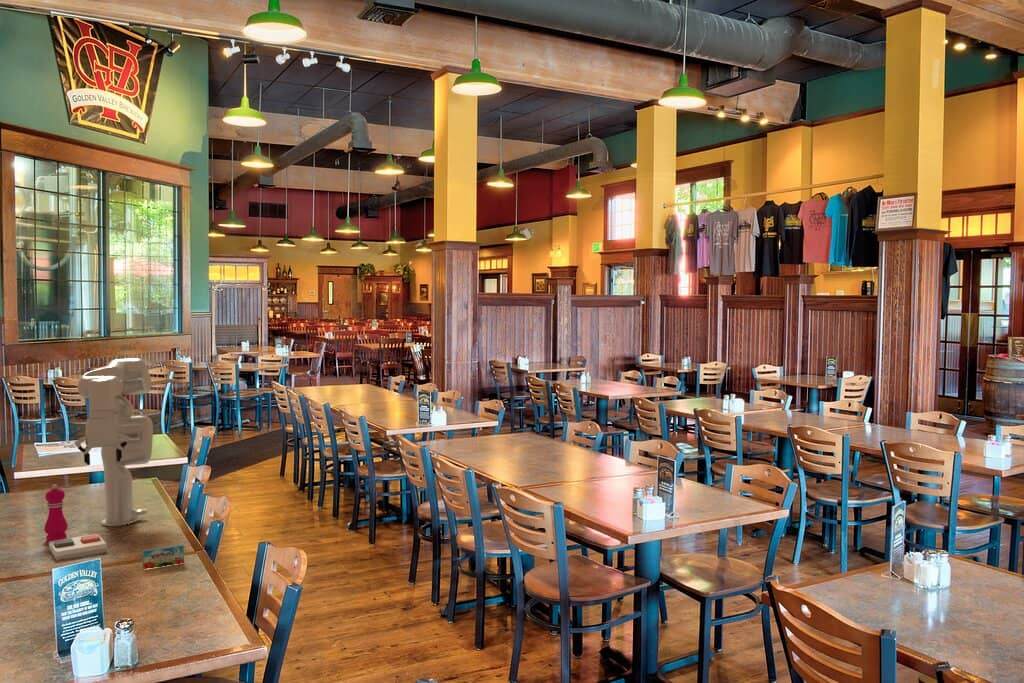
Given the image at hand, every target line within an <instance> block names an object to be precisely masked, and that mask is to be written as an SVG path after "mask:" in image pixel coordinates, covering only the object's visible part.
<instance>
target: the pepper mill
mask: <svg viewBox="0 0 1024 683" xmlns="http://www.w3.org/2000/svg"><path fill="white" fill-rule="evenodd" d="M51 488H52V489H49V490H47V492H46V493H45V497H44V498H45V501H47V508H48V516H47V519H46V521H45V523H44V524H45V525H44V533H46V534H47V535H46V537H45V538H46V542H47V541H48V542H47V543H49V541H55V540H62V539H67V533H66V531H68V529H69V528H68V527H69V525H68V522H67V520H66V518H65V516H64V513H63V506H64V501H63V500H64V499H65V496H66V494H65V491H64V490H63V489H61V488H58V484H56V483H55V484H52V486H51Z"/></svg>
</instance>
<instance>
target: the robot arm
mask: <svg viewBox="0 0 1024 683" xmlns="http://www.w3.org/2000/svg"><path fill="white" fill-rule="evenodd" d="M151 389H152V378H151V374H150V371H149V368H148V365H147V363H146V362H145V361H144V360H143V359H141V358H116V359H112V360H110V361H109V362H108V363H107V364H106V365H105V366H104V367H101V368H98V369H94V370H90V371H87V372H85V373H84V374H83V375H82V376H81V377H80V378H79V381H78V383H77V392H78V394H79V395H80V397H81V398H84V399H85V398H86V399H88V405H89V408H88V409H89V411H88V412H89V417H88V418H87V419H86V422H85V435H84V436H83V437H80V438H79V439H77V440H75V441H74V444H75V446H76V448H77V449H78V450H79V451H80V452H82V453H83V462H84V464H86V466H90V465H91V455H90V453H89V452H90V451H91V450H92V449H95V448H101V450H100V455H101V460H102V465H103V466H102V468H103V472H104V498H105V499H104V500H105V503H104V504H105V508H104V509H105V518H104V519H102V520H101V522H100V524H101V526H104V527H122V525H123V526H127V525H126V524H128V525H131V524H130V523H132V524H134V523H133V522H135V523H137V522H138V516H143V515H147V509H142V508H141V509H140V508H139V509H135V508H134V502H133V501H134V496H133V495H134V494H133V476H132V473H131V472H130V470H129V469H128V468H127V467H126V466H134V465H135V466H136V465H145V464H148V463H149V462H150V461H151V458H152V453H153V451H152V450H153V440H154V439H153V438H154V436H153V435H154V423H153V421H152V418H150V417H149V416H146V415H135V414H134V413H135V408H134V405H133V404H132V402H131V401H130V400H128V398H126V397H125V396H124V395H145V394H147V393H149V392H150V391H151ZM83 442H85V445H86V446H85V447H83V446H82V443H83Z"/></svg>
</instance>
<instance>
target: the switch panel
mask: <svg viewBox="0 0 1024 683" xmlns="http://www.w3.org/2000/svg"><path fill="white" fill-rule="evenodd" d="M95 534H97V535H98V536H99V537H100V541H97V542H91V543H85V544H83V543H82V542H81V537H83V536H84V535H80V536H75V537H69V538H71V539H72V540H73V541H74V545H73V546H67V547H61V548H55V542H54V541H49V542H48V550H50V551H49V552H50V553H52V554H51V555H52V557H53V556H54V557H53V558H54V560H55V559H56V560H58V561H62V560H61V559H64V560H69V559H68V558H70V559H75V558H81V557H87V556H91V555H97V554H103V553H107V552H108V550H107V548H108V545H107V542H106V541H105V540H104V539H103V537H101V536H100V535H99V534H98V533H95ZM95 534H92V535H95ZM89 535H90V534H87V535H85V536H89ZM69 538H67V539H69ZM62 540H63V539H62ZM55 541H57V540H55ZM56 560H55V561H56Z"/></svg>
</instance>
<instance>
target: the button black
mask: <svg viewBox="0 0 1024 683" xmlns="http://www.w3.org/2000/svg"><path fill="white" fill-rule="evenodd" d="M71 538H72V537H69V539H68V538H66V539H63V540H57V541H54V542H55V548H61V547H67V546H73V545H74V541H73V540H72V539H71Z"/></svg>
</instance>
